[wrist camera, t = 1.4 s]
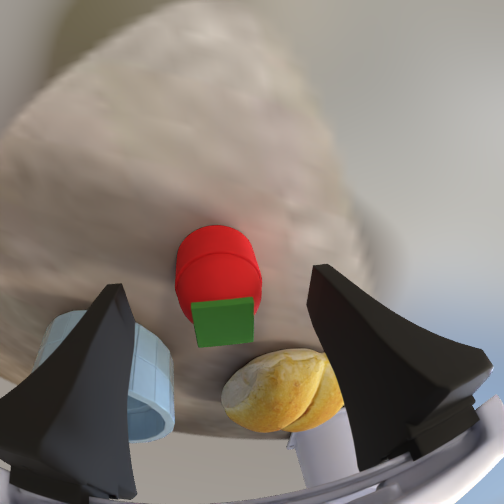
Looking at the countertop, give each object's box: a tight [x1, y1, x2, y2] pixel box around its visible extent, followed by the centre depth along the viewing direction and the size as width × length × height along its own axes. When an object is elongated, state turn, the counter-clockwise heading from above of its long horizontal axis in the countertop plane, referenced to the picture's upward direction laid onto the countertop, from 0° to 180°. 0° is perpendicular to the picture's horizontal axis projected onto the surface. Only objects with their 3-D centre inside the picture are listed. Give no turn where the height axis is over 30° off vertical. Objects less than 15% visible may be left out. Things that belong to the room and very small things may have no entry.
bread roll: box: [221, 348, 344, 433], centre depth 18 cm, size 8×9×4 cm
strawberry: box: [175, 225, 262, 348], centre depth 11 cm, size 3×3×4 cm
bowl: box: [32, 310, 175, 443], centre depth 13 cm, size 8×8×4 cm
